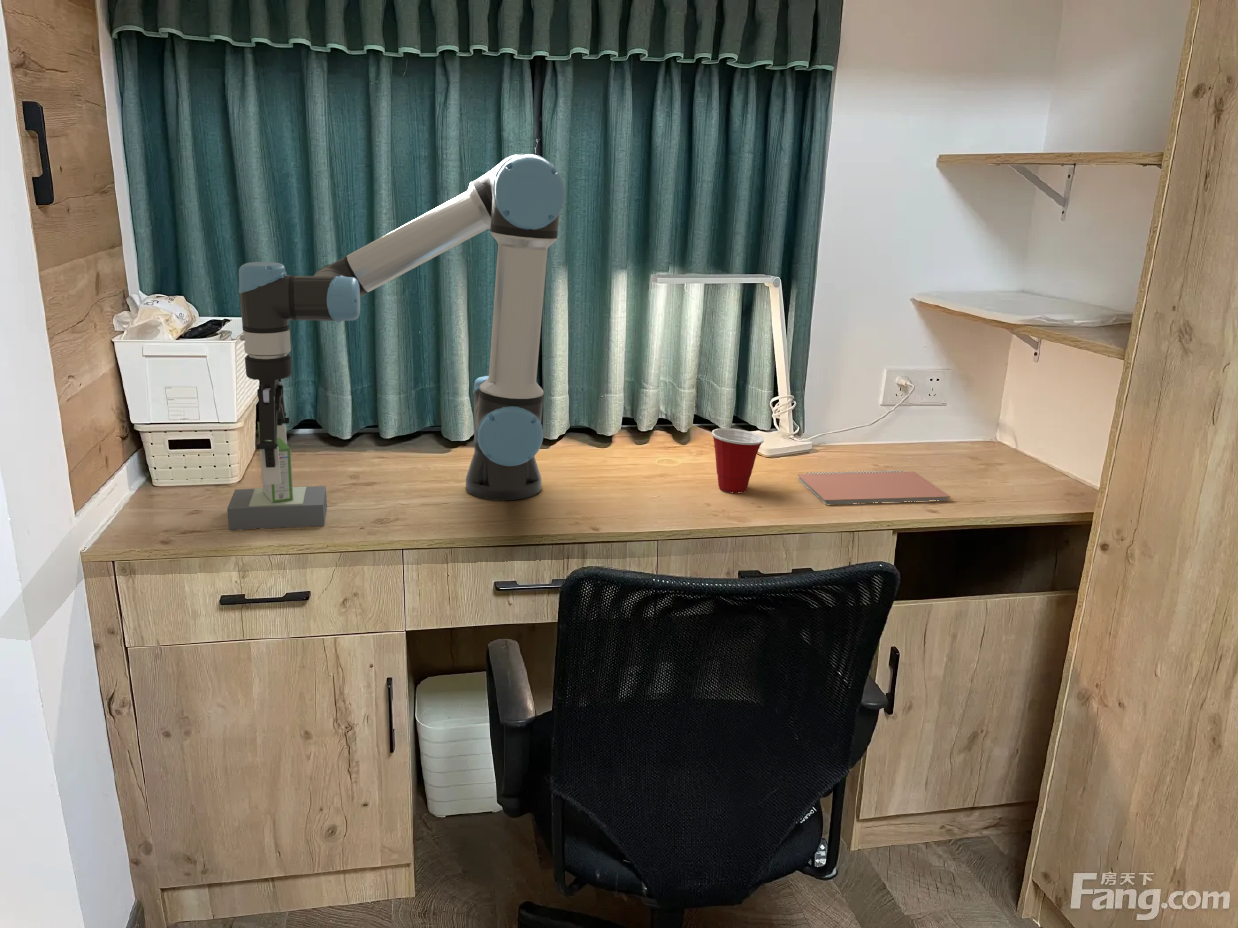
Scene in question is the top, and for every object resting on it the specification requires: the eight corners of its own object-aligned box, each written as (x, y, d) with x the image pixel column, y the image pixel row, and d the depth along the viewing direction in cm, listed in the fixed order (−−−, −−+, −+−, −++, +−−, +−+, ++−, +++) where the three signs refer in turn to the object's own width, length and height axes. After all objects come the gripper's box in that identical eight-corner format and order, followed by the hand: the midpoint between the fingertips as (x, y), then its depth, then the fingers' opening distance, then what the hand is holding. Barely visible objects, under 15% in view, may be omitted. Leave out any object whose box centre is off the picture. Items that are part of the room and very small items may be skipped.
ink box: (294, 500, 173) (289, 428, 169) (271, 503, 171) (266, 430, 167) (284, 488, 179) (279, 418, 175) (262, 491, 177) (256, 420, 173)
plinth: (327, 505, 183) (325, 484, 182) (324, 525, 174) (323, 503, 172) (236, 509, 179) (234, 488, 178) (229, 530, 170) (227, 507, 169)
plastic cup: (769, 495, 199) (775, 438, 195) (723, 500, 195) (727, 443, 191) (743, 478, 208) (748, 424, 204) (698, 483, 204) (702, 428, 200)
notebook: (911, 477, 215) (912, 468, 214) (949, 504, 199) (950, 495, 199) (794, 480, 210) (795, 471, 209) (824, 507, 194) (825, 498, 194)
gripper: (253, 340, 178) (262, 450, 184) (234, 370, 155) (245, 495, 161) (296, 340, 179) (303, 449, 186) (284, 370, 156) (292, 493, 163)
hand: (276, 471), depth 174 cm, fingers open, 13 cm apart
